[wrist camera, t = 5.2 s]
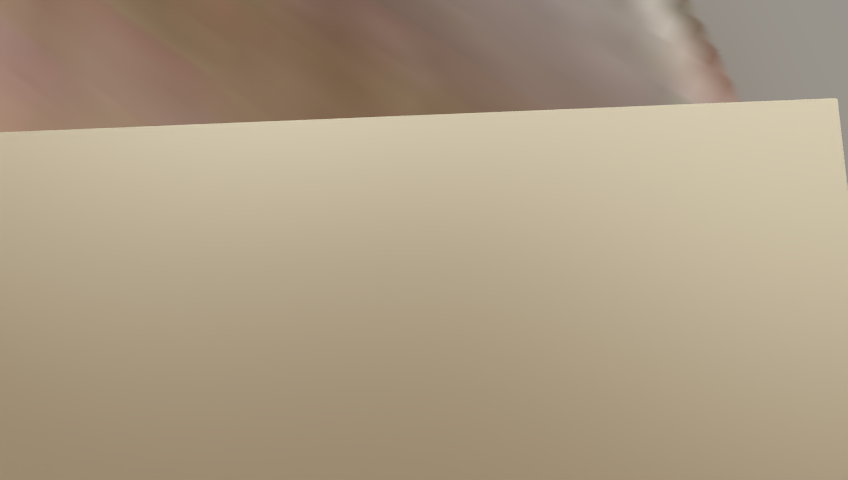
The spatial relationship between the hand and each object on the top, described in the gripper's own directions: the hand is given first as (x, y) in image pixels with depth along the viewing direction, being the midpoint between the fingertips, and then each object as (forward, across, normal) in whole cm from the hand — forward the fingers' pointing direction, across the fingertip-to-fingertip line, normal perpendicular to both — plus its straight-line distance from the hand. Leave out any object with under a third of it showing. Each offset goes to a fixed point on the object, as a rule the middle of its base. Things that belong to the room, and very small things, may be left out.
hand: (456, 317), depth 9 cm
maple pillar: (+4, 0, +6) cm, 7 cm away
